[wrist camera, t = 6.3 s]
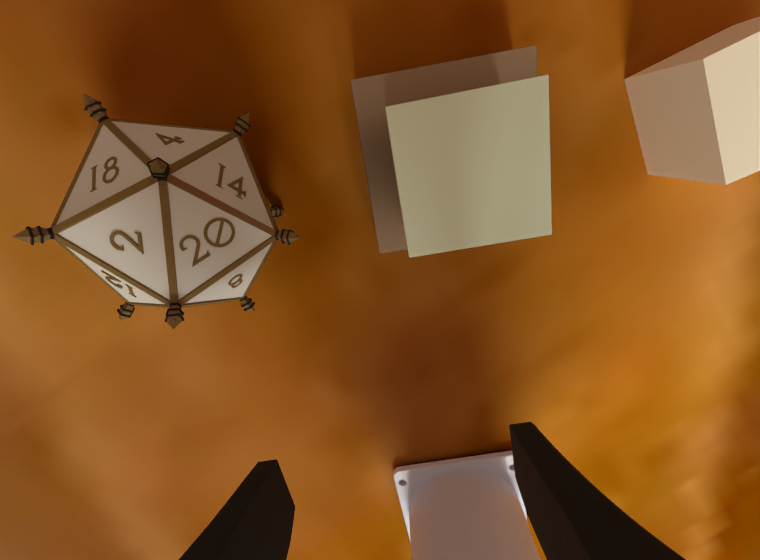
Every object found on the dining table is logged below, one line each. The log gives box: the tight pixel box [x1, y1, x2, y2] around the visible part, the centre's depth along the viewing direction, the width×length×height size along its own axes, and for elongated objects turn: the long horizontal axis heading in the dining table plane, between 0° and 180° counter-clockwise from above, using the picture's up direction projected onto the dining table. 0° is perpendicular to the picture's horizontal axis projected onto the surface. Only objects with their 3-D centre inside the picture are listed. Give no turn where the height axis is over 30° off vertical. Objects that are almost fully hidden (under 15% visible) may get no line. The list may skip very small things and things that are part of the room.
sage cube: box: [385, 75, 552, 258], centre depth 13 cm, size 4×4×4 cm
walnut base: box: [351, 45, 537, 254], centre depth 17 cm, size 7×7×3 cm
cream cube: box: [624, 16, 760, 185], centre depth 15 cm, size 4×4×4 cm
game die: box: [13, 93, 300, 329], centre depth 15 cm, size 9×8×10 cm
